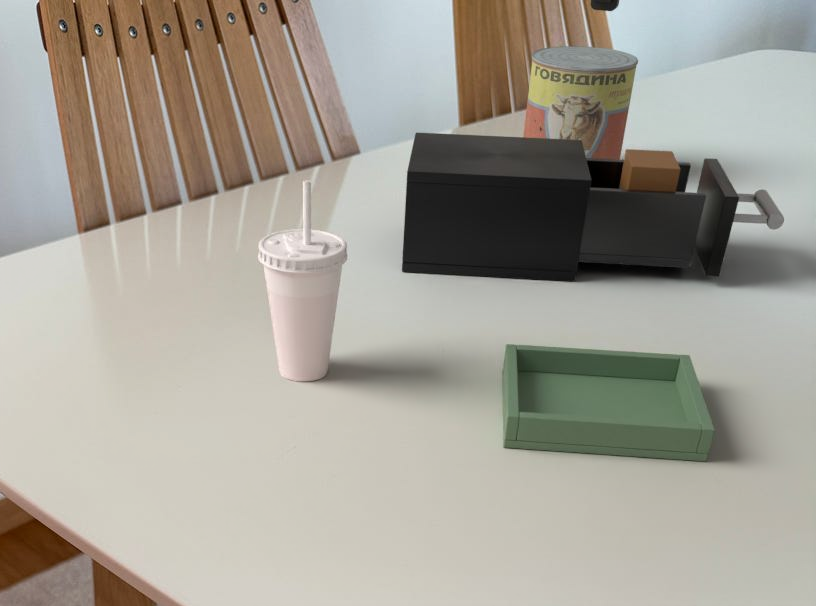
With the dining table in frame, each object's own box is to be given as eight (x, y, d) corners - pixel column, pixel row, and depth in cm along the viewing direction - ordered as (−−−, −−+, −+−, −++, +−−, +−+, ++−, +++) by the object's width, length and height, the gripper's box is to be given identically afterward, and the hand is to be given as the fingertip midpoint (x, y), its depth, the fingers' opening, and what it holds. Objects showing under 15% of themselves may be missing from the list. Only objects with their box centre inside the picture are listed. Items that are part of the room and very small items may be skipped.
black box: (567, 234, 105) (582, 139, 99) (575, 281, 95) (591, 180, 89) (410, 225, 106) (415, 132, 100) (401, 272, 96) (407, 171, 90)
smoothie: (292, 397, 77) (289, 200, 68) (245, 365, 81) (237, 175, 72) (361, 375, 80) (368, 183, 71) (313, 345, 83) (313, 160, 74)
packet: (656, 229, 100) (672, 151, 95) (663, 249, 96) (680, 168, 91) (611, 226, 100) (625, 148, 96) (617, 246, 96) (631, 166, 91)
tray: (682, 384, 79) (689, 354, 78) (706, 461, 70) (715, 430, 69) (502, 373, 80) (506, 343, 79) (503, 447, 71) (507, 416, 70)
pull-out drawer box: (751, 236, 102) (770, 161, 98) (775, 280, 93) (798, 200, 89) (550, 225, 104) (560, 151, 99) (555, 267, 95) (567, 188, 90)
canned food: (516, 185, 117) (530, 65, 109) (520, 157, 125) (534, 43, 117) (618, 192, 115) (640, 71, 107) (616, 163, 124) (636, 49, 116)
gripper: (686, -246, 73) (640, 20, 84) (721, -243, 83) (677, -6, 93) (581, -247, 76) (550, 11, 86) (628, -244, 86) (595, -13, 96)
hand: (616, 2), depth 90 cm, fingers open, 8 cm apart
